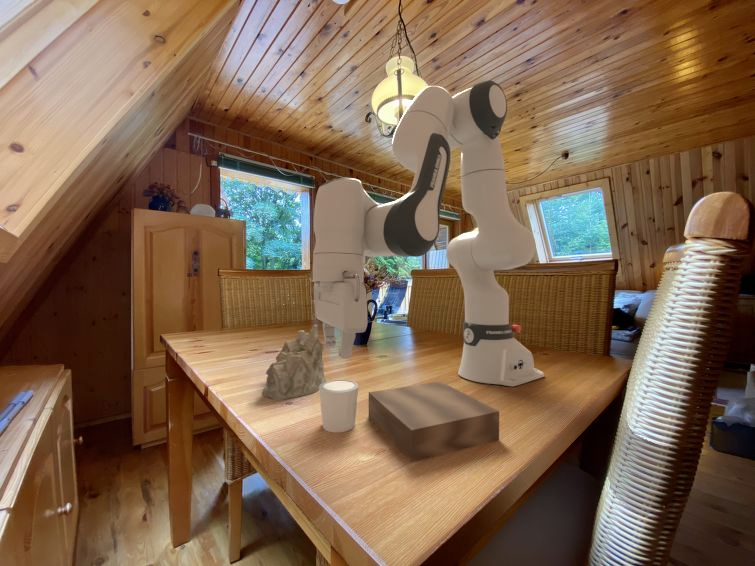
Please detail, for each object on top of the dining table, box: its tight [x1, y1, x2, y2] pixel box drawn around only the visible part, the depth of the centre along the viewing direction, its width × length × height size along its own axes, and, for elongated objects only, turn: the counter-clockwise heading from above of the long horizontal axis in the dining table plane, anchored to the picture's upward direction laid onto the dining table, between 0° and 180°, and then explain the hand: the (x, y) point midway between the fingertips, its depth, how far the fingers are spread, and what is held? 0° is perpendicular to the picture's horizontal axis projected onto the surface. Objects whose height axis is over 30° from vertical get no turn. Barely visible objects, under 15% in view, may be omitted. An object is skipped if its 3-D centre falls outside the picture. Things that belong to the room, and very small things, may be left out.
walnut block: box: [368, 381, 500, 463], centre depth 54 cm, size 16×16×5 cm
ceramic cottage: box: [262, 324, 327, 401], centre depth 75 cm, size 16×16×15 cm
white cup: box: [318, 379, 359, 433], centre depth 55 cm, size 7×7×7 cm
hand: (336, 351), depth 55 cm, fingers open, 8 cm apart
